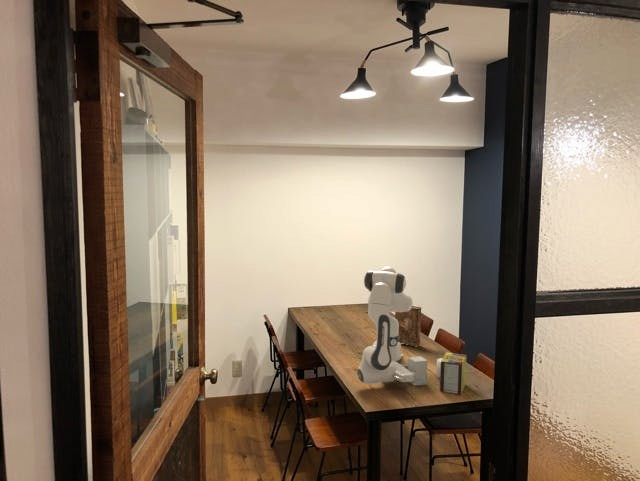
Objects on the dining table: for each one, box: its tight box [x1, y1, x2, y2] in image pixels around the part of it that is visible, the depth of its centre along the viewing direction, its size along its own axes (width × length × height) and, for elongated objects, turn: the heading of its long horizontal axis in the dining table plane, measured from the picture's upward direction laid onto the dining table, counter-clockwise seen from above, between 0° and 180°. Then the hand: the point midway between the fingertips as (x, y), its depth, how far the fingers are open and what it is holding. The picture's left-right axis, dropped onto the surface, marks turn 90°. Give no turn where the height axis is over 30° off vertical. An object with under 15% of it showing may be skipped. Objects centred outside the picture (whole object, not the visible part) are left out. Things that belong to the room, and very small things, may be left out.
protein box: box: [439, 352, 467, 396], centre depth 243 cm, size 10×15×16 cm
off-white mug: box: [436, 357, 443, 380], centre depth 259 cm, size 10×8×9 cm
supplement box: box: [407, 355, 428, 387], centre depth 249 cm, size 7×7×13 cm
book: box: [394, 305, 422, 347], centre depth 314 cm, size 16×6×25 cm, turn 55°
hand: (413, 369), depth 248 cm, fingers open, 8 cm apart
